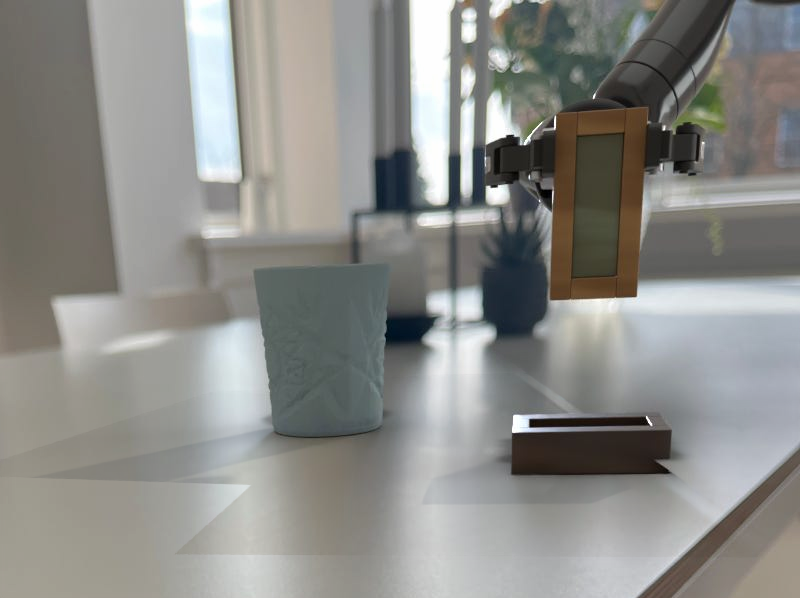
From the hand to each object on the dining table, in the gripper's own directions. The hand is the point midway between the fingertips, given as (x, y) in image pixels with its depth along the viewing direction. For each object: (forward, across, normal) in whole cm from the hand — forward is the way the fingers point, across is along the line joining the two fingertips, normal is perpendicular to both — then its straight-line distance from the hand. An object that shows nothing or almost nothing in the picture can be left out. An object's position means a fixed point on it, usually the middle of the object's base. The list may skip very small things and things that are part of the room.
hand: (600, 148), depth 57 cm
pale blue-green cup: (-15, +19, -18) cm, 30 cm away
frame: (-3, 0, -8) cm, 8 cm away
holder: (0, 0, -18) cm, 18 cm away
